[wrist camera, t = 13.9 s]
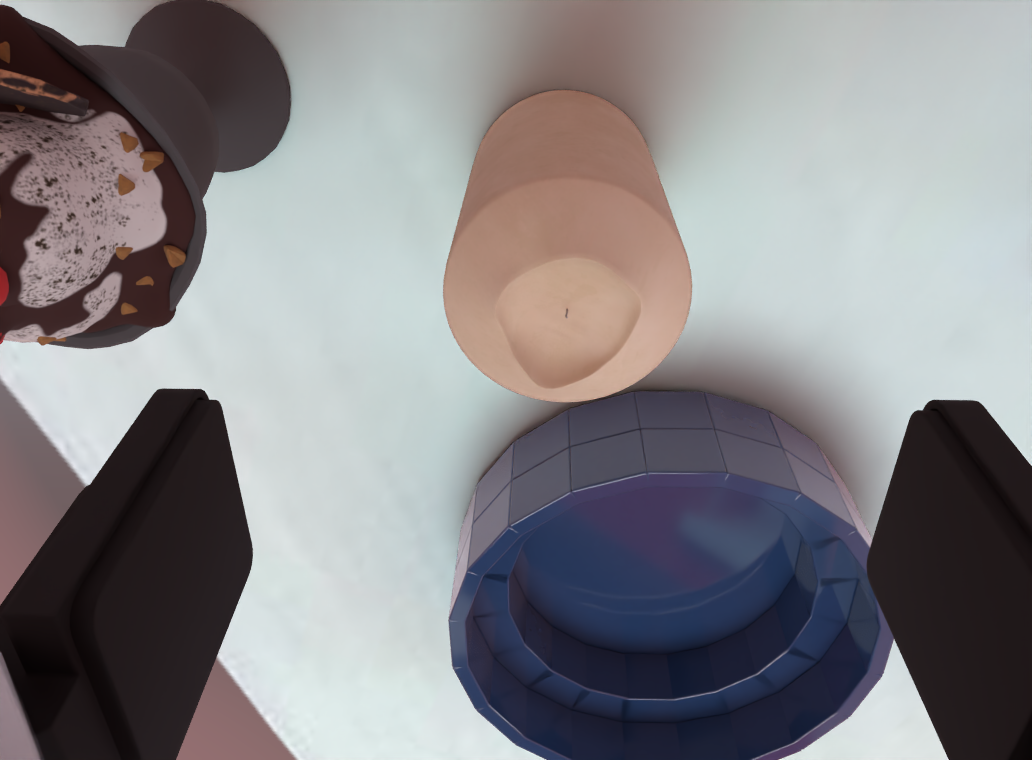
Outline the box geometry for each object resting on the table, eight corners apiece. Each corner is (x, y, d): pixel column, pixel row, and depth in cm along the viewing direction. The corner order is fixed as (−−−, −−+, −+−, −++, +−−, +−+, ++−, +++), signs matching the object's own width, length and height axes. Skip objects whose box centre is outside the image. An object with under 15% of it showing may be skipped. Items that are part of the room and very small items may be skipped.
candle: (603, 287, 28) (626, 470, 19) (447, 223, 27) (398, 385, 18) (684, 132, 25) (753, 265, 17) (514, 55, 24) (495, 154, 16)
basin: (391, 577, 35) (369, 675, 31) (623, 308, 28) (637, 386, 24) (674, 724, 39) (689, 829, 35) (935, 519, 32) (994, 617, 28)
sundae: (213, 238, 27) (-83, 557, 15) (47, 61, 25) (-495, 260, 12) (367, 119, 25) (178, 369, 12) (203, -89, 23) (-254, -45, 10)
